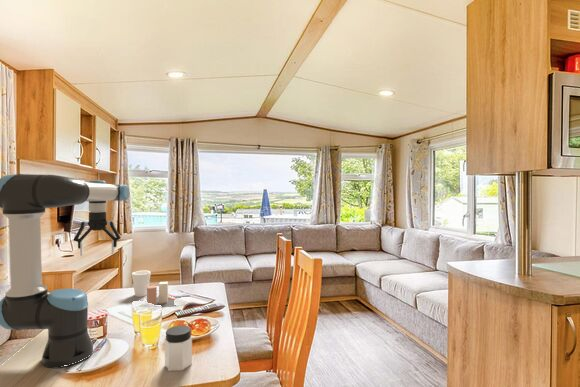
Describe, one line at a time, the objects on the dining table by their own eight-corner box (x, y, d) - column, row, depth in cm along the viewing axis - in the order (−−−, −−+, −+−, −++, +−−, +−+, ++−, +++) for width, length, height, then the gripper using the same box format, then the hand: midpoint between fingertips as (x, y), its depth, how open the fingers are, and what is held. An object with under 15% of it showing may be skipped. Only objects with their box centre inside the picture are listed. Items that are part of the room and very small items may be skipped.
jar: (194, 358, 119) (194, 324, 119) (189, 370, 111) (189, 334, 111) (168, 359, 118) (168, 325, 118) (161, 371, 110) (161, 335, 110)
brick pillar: (156, 307, 166) (156, 287, 166) (147, 308, 164) (147, 288, 164) (155, 304, 170) (155, 285, 170) (146, 306, 168) (146, 286, 168)
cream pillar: (167, 302, 173) (167, 283, 173) (158, 303, 172) (159, 284, 171) (167, 300, 177) (167, 281, 176) (159, 300, 176) (159, 282, 175)
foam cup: (128, 296, 184) (128, 272, 184) (144, 292, 192) (144, 269, 191) (137, 299, 179) (137, 275, 178) (153, 295, 186) (153, 272, 186)
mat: (189, 306, 170) (189, 305, 170) (142, 310, 164) (142, 308, 164) (189, 296, 185) (189, 295, 185) (147, 299, 180) (147, 298, 179)
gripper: (126, 210, 172) (126, 251, 172) (71, 211, 164) (71, 254, 165) (124, 211, 165) (124, 254, 165) (65, 212, 157) (66, 257, 158)
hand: (97, 254), depth 165 cm, fingers open, 13 cm apart
